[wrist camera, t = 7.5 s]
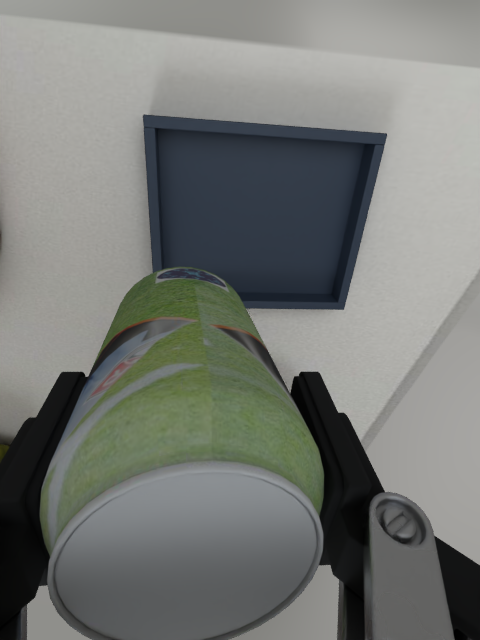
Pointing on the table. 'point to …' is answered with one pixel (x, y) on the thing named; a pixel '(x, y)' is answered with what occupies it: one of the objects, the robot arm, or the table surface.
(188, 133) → the tray
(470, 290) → the table surface
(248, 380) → the beverage can
